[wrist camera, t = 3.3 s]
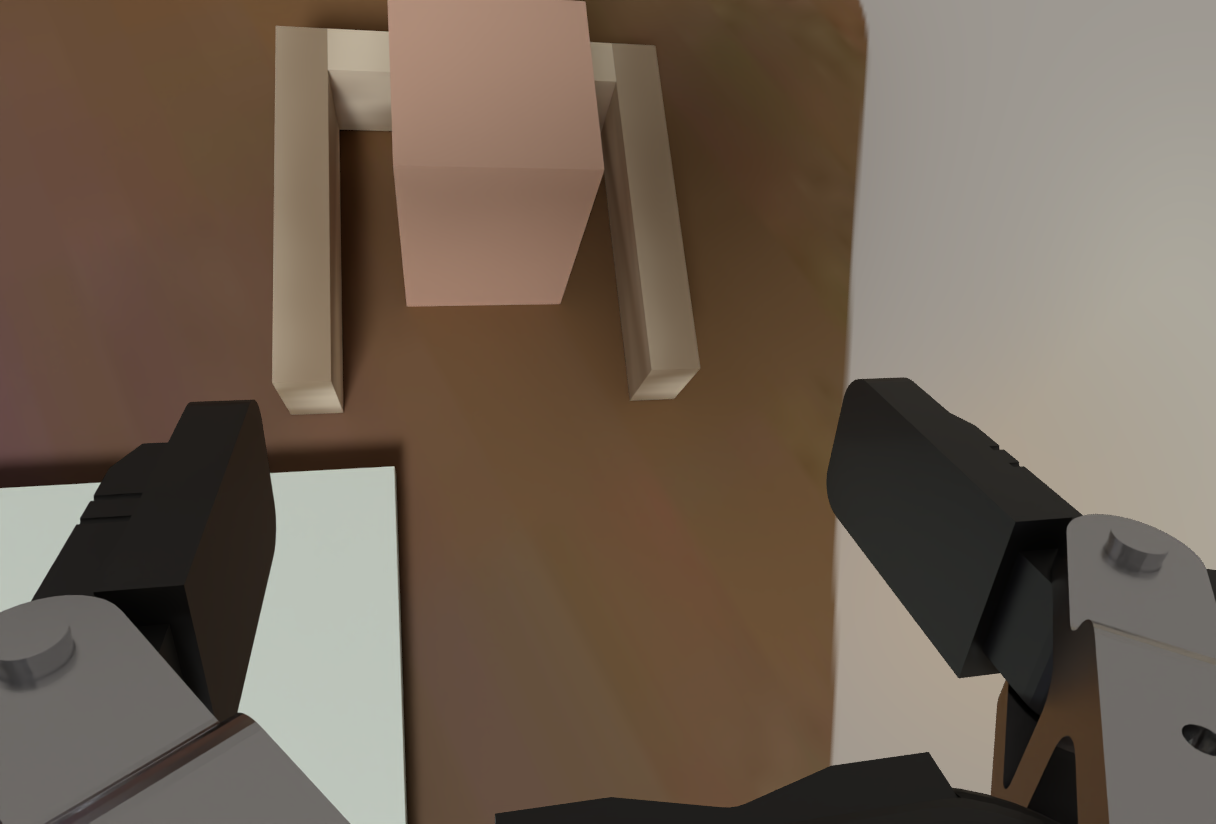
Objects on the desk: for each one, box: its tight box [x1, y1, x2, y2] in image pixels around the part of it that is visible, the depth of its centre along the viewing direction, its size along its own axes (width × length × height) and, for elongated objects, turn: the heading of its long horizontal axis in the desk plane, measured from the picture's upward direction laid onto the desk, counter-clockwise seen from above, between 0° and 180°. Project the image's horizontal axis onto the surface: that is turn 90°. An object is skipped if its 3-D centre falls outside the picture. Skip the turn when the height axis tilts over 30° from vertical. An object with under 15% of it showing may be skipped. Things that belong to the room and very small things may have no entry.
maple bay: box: [272, 26, 700, 415], centre depth 26 cm, size 12×12×3 cm
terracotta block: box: [388, 0, 604, 306], centre depth 24 cm, size 5×5×8 cm
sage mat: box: [0, 466, 407, 824], centre depth 21 cm, size 14×14×1 cm
